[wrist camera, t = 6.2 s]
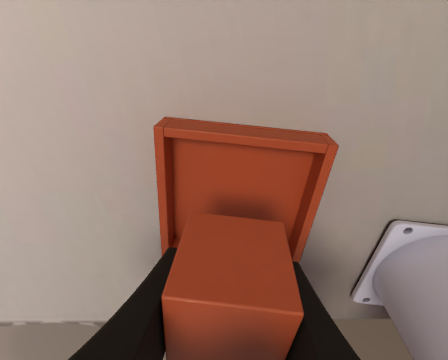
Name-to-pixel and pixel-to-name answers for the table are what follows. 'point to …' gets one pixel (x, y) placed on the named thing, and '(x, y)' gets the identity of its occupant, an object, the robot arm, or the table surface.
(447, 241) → the robot arm
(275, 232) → the rust block
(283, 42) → the table surface
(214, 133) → the rust tray
